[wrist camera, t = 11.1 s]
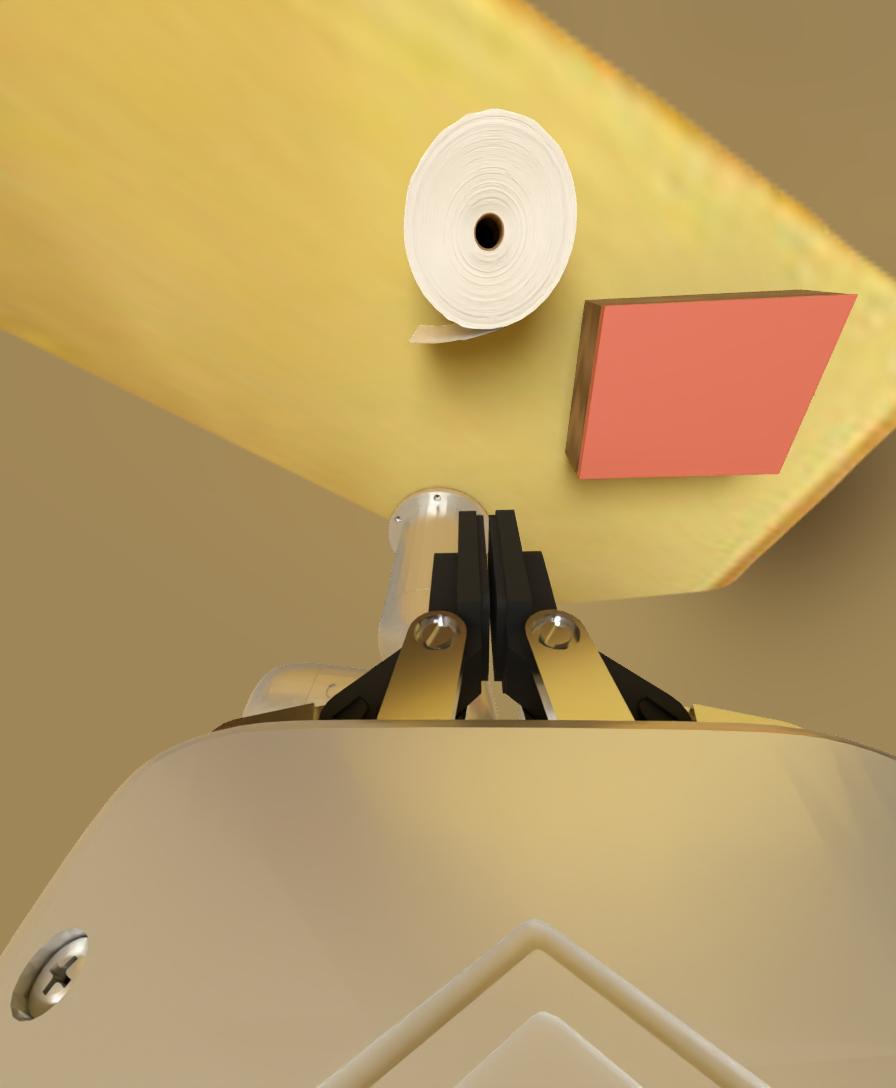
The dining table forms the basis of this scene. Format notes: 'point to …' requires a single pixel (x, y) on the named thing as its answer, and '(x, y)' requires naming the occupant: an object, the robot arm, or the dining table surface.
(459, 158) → the toilet tissue
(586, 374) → the walnut box
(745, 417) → the lid
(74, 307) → the dining table surface
